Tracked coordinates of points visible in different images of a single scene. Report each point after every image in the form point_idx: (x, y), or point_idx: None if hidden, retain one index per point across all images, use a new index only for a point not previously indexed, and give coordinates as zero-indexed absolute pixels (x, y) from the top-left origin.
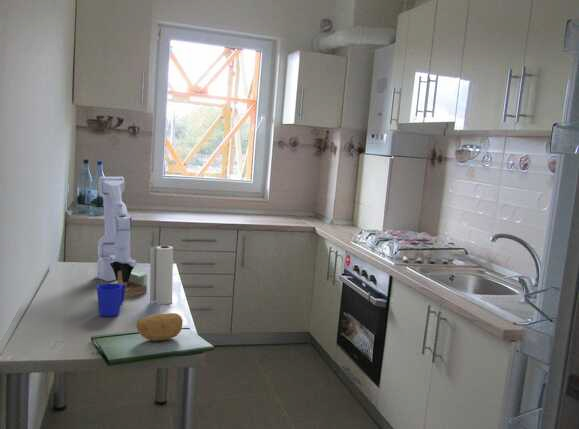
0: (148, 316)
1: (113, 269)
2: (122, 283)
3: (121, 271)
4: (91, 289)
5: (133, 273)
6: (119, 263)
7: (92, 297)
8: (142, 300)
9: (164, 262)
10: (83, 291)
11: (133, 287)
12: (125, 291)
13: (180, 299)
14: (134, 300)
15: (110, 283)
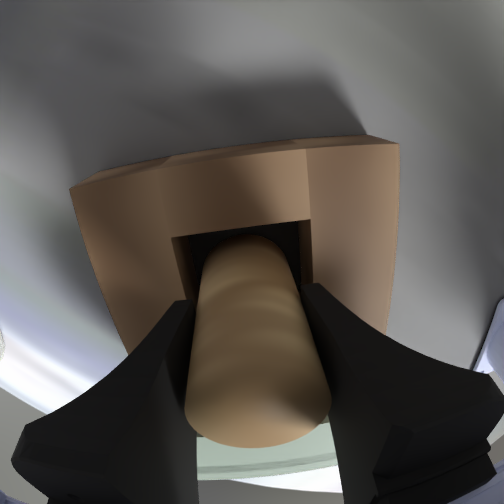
0: None
1: (397, 351)
2: (202, 288)
3: (255, 402)
4: (474, 132)
5: (220, 448)
6: (364, 498)
7: (290, 3)
8: (21, 271)
9: None
10: (468, 63)
11: (137, 328)
12: (86, 230)
13: (8, 389)
14: (34, 233)
15: (390, 239)
